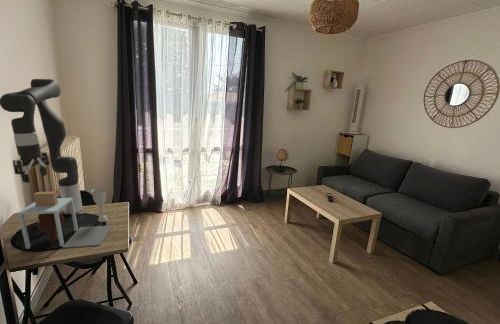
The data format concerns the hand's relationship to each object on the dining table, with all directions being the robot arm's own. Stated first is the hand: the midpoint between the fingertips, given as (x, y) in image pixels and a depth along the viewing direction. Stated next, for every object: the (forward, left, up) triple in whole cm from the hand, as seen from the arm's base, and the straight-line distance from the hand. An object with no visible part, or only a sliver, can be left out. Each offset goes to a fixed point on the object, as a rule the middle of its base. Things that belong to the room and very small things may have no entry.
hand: (35, 178), depth 111 cm
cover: (-3, +1, -32) cm, 32 cm away
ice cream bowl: (-3, +1, -32) cm, 32 cm away
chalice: (-20, +17, -32) cm, 41 cm away
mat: (-3, +17, -32) cm, 36 cm away
